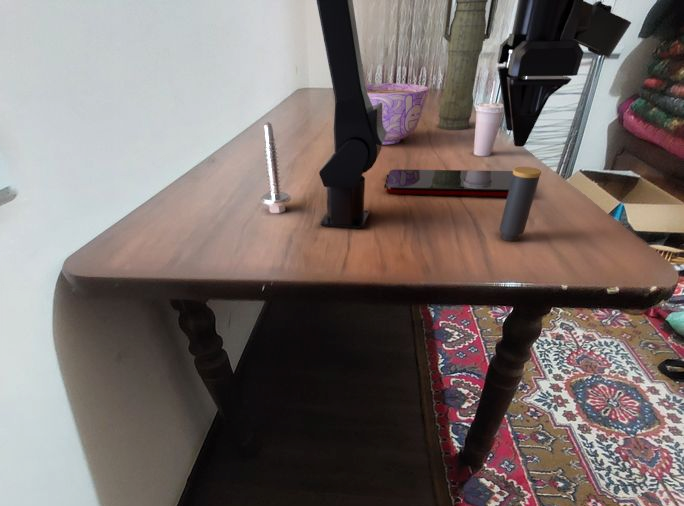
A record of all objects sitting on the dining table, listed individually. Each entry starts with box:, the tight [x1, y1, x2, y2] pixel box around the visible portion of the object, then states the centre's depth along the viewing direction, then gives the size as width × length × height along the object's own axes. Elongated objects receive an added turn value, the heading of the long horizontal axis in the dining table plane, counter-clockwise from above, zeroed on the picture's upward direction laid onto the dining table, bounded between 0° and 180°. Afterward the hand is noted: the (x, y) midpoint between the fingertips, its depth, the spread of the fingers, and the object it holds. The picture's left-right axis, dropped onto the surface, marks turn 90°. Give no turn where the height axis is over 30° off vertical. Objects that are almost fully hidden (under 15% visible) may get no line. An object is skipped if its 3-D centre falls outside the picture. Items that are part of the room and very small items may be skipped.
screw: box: [260, 121, 292, 214], centre depth 63 cm, size 13×5×5 cm
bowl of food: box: [365, 82, 430, 145], centre depth 101 cm, size 20×20×12 cm
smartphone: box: [384, 168, 513, 197], centre depth 74 cm, size 12×2×25 cm
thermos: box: [437, 0, 497, 131], centre depth 106 cm, size 9×12×35 cm
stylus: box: [498, 166, 542, 242], centre depth 54 cm, size 3×3×9 cm
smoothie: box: [473, 79, 505, 157], centre depth 88 cm, size 6×6×14 cm
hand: (514, 137), depth 52 cm, fingers open, 9 cm apart
